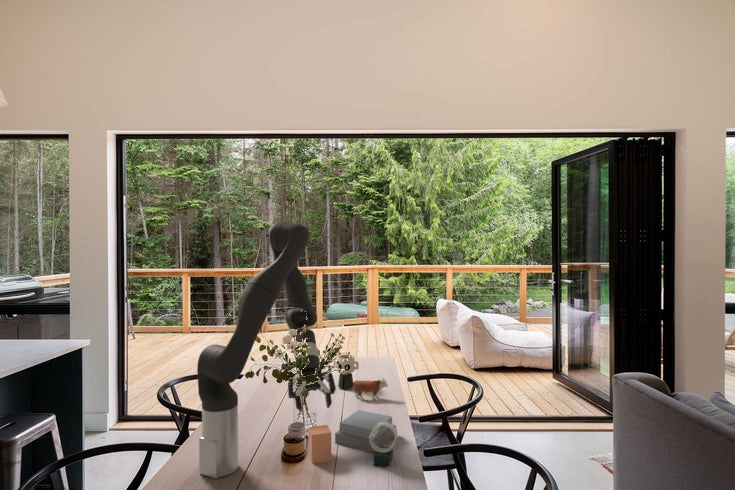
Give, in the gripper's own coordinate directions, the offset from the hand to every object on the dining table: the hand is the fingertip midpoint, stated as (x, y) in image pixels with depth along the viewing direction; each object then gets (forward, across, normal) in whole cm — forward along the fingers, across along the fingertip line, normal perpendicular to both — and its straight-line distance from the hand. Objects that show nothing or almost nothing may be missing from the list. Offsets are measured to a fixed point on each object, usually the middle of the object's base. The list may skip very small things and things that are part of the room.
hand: (314, 408), depth 141 cm
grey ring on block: (+19, +16, -2) cm, 25 cm away
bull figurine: (-16, +28, +32) cm, 46 cm away
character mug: (-26, +23, +43) cm, 56 cm away
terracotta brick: (+13, 0, +3) cm, 14 cm away
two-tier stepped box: (+8, +16, +8) cm, 20 cm away
